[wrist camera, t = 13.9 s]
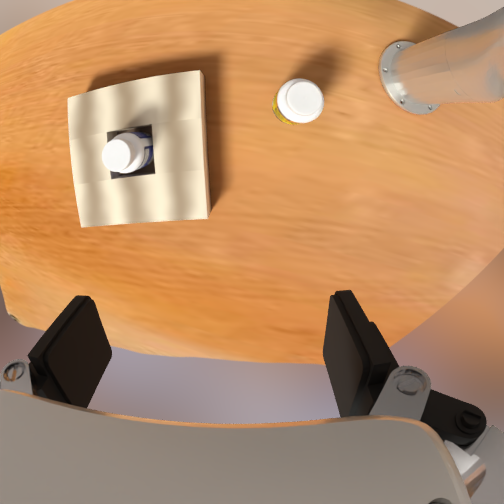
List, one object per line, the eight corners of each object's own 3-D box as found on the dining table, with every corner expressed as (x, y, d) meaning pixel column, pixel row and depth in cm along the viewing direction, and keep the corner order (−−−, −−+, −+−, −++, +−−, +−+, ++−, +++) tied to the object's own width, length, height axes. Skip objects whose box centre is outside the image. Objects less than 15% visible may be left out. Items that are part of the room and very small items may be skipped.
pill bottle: (119, 145, 38) (89, 149, 29) (146, 124, 37) (121, 124, 28) (136, 174, 39) (110, 185, 31) (164, 154, 39) (143, 161, 30)
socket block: (204, 76, 35) (199, 70, 31) (211, 210, 43) (207, 218, 39) (82, 99, 35) (67, 98, 31) (94, 218, 43) (81, 227, 39)
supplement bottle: (264, 112, 37) (269, 105, 28) (283, 81, 36) (295, 65, 26) (298, 132, 39) (314, 131, 29) (317, 101, 37) (338, 91, 27)
